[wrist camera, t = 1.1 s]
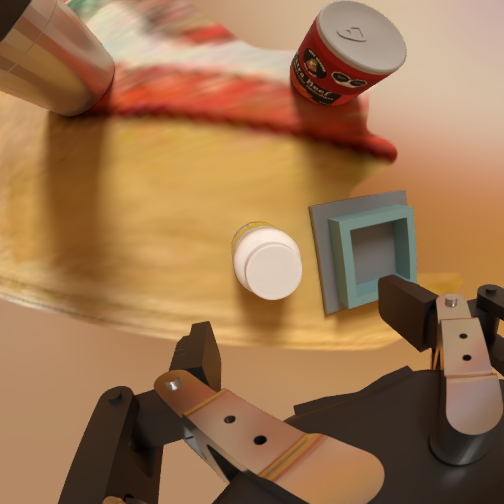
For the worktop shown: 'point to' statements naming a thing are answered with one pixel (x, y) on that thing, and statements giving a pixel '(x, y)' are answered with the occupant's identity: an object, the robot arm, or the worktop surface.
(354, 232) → the grey-teal square frame
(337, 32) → the canned food
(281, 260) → the supplement bottle
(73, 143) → the worktop surface
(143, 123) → the worktop surface
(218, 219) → the worktop surface
